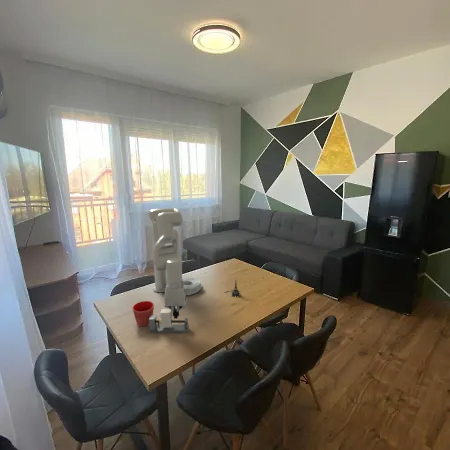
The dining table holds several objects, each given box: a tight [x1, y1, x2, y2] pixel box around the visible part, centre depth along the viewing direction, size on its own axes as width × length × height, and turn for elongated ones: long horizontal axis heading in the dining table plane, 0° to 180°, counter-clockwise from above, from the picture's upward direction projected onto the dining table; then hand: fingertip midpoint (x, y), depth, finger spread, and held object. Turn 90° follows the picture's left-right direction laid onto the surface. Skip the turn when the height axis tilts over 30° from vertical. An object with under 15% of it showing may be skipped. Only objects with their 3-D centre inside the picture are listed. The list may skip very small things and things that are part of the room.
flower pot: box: [132, 300, 155, 327], centre depth 131 cm, size 11×11×10 cm
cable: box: [182, 276, 203, 296], centre depth 168 cm, size 18×18×6 cm
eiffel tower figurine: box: [224, 281, 241, 298], centre depth 161 cm, size 15×10×13 cm
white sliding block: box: [159, 308, 173, 327], centre depth 125 cm, size 5×4×8 cm
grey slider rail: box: [148, 314, 190, 334], centre depth 126 cm, size 19×6×7 cm, turn 90°
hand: (176, 317), depth 125 cm, fingers closed
